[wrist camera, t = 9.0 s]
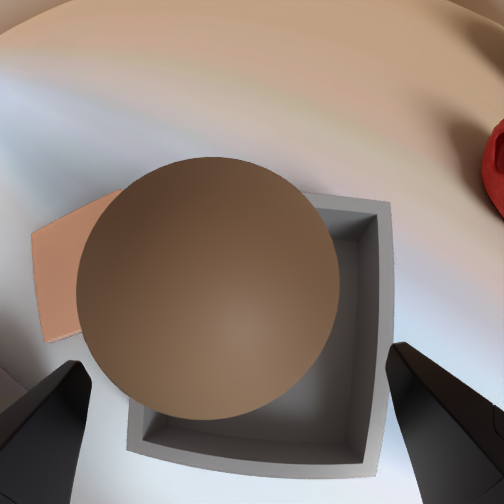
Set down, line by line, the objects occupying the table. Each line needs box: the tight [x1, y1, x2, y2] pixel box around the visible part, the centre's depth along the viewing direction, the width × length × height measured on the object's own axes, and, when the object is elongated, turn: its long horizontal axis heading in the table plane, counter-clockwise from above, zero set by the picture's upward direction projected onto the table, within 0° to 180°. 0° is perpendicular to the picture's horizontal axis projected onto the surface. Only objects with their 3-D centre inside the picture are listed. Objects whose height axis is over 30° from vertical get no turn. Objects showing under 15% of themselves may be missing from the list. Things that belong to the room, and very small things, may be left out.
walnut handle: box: [76, 157, 340, 420], centre depth 11 cm, size 6×6×14 cm
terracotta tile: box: [31, 189, 122, 343], centre depth 20 cm, size 9×9×1 cm
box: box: [126, 192, 394, 479], centre depth 16 cm, size 14×12×5 cm
